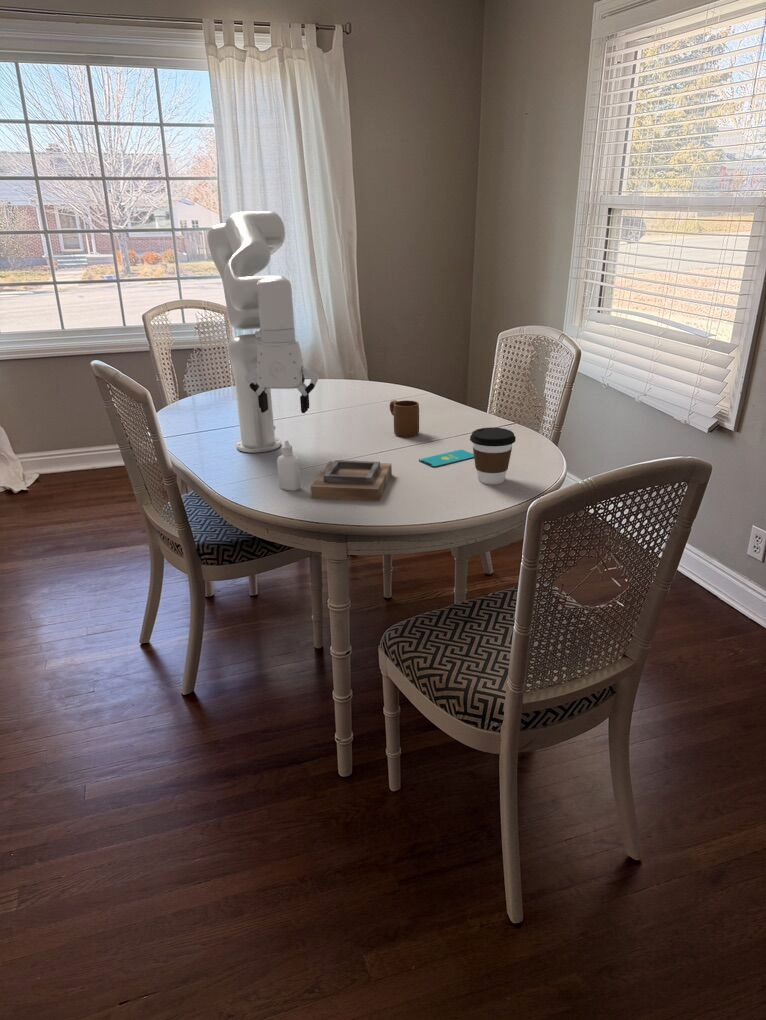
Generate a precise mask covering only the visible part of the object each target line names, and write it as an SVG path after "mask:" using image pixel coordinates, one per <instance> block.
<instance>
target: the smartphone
mask: <svg viewBox="0 0 766 1020" xmlns="http://www.w3.org/2000/svg"><path fill="white" fill-rule="evenodd" d="M471 459H474V453H471V452H469V451H467V450H464V449H457V450H454V451H449V452H448V451H447V452H446V453H445V452H444V453H440V454H435V455H432V456H427V457H423V458H419V459H418V462H419V463H421V464H423V465H425V466H428V467H430V468H434V469H435V468H440V467H443V466H448V465H452V464H456V463H459V462H464V461H468V460H471Z"/></svg>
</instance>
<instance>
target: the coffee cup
mask: <svg viewBox="0 0 766 1020" xmlns="http://www.w3.org/2000/svg"><path fill="white" fill-rule="evenodd" d="M469 441H470V442H471V443H472V452H473V453H472V454H474V458H473V459H474V460H473V461H474V467H475V469H476V476H477V480H478V481H479V482H480V483H482V484H484V485H485V484H486V485H499V484H502V483H503V482H504V481H505V479H506V475H507V470H509V466H510V465H509V464H510V459H511V455H512V451H513V444H514V443H516V435H515V432H513V431H512V430H510V429H507V428H502V427H492V426H491V427H482V428H477V429H475V430H473V431H472V432H471V434H470V437H469Z"/></svg>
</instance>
